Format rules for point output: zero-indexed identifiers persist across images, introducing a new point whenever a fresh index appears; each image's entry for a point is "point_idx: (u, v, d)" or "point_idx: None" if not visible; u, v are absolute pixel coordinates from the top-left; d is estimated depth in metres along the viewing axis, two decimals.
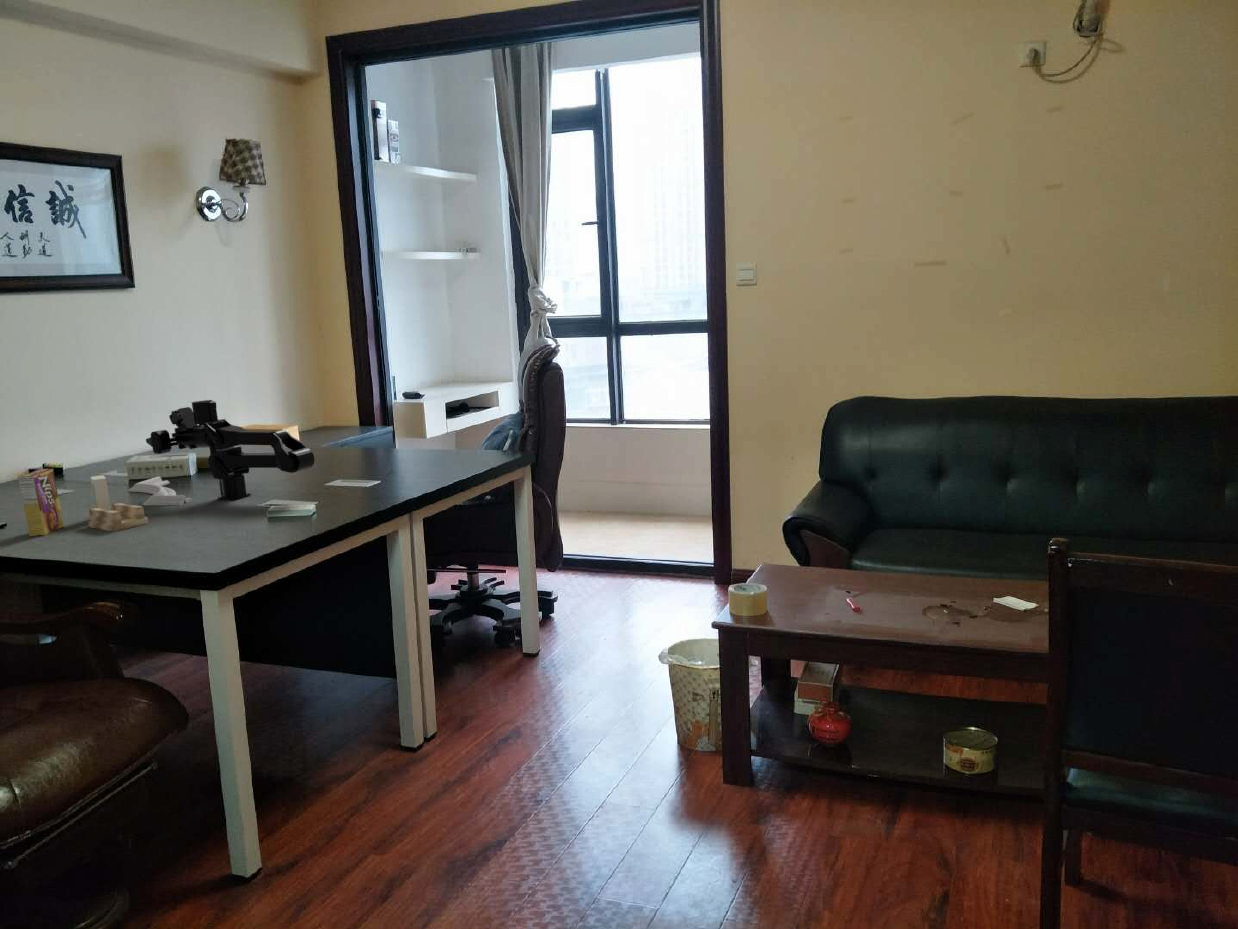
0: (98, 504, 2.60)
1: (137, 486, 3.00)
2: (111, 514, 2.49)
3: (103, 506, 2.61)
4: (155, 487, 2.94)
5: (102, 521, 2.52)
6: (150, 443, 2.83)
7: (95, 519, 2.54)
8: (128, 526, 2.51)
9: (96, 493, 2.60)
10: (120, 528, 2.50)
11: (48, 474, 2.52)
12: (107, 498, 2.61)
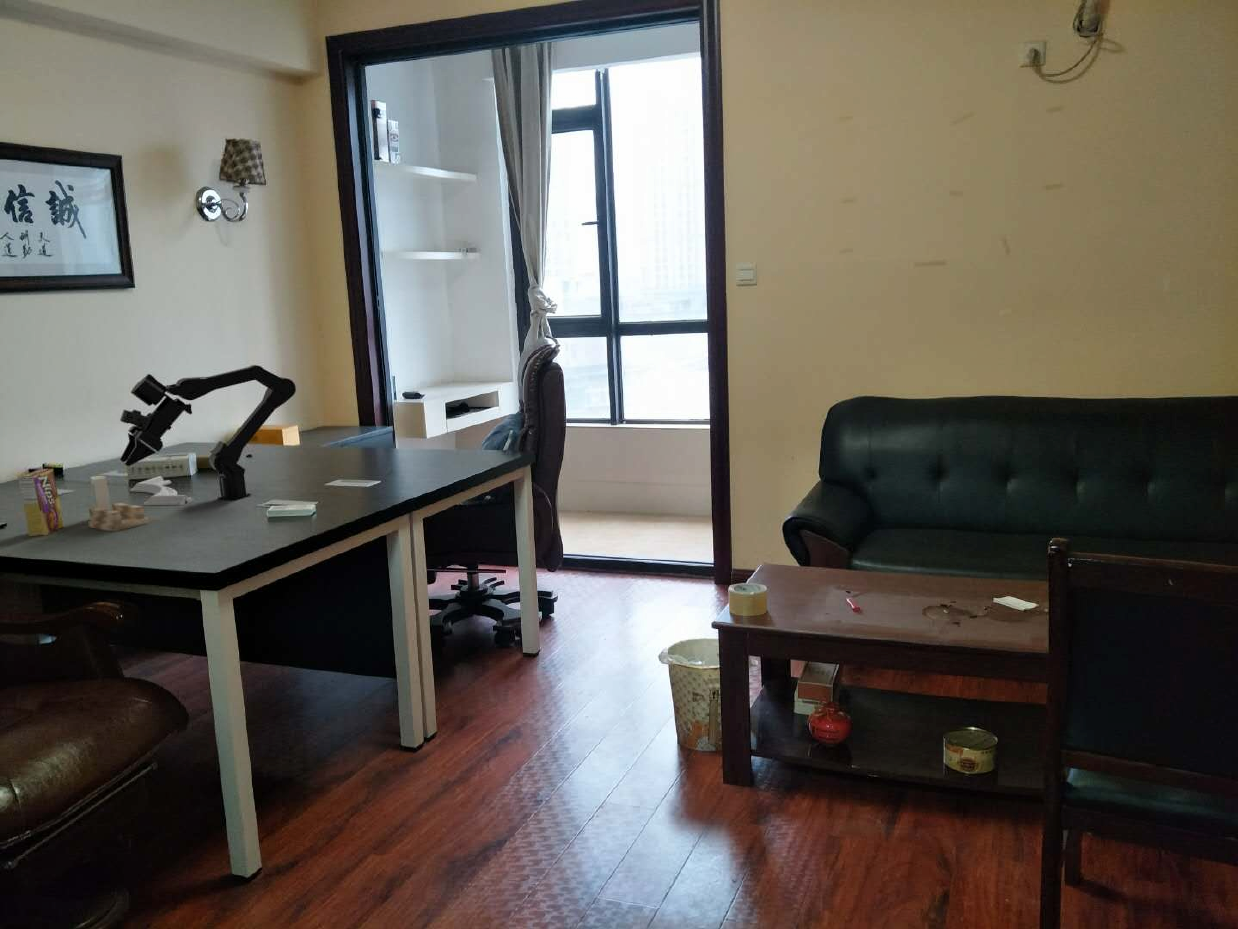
0: (98, 504, 2.60)
1: (139, 486, 3.00)
2: (111, 514, 2.49)
3: (103, 506, 2.61)
4: (156, 487, 2.95)
5: (102, 521, 2.52)
6: (135, 460, 2.62)
7: (95, 519, 2.54)
8: (128, 526, 2.51)
9: (96, 493, 2.60)
10: (120, 528, 2.50)
11: (48, 474, 2.52)
12: (107, 498, 2.61)
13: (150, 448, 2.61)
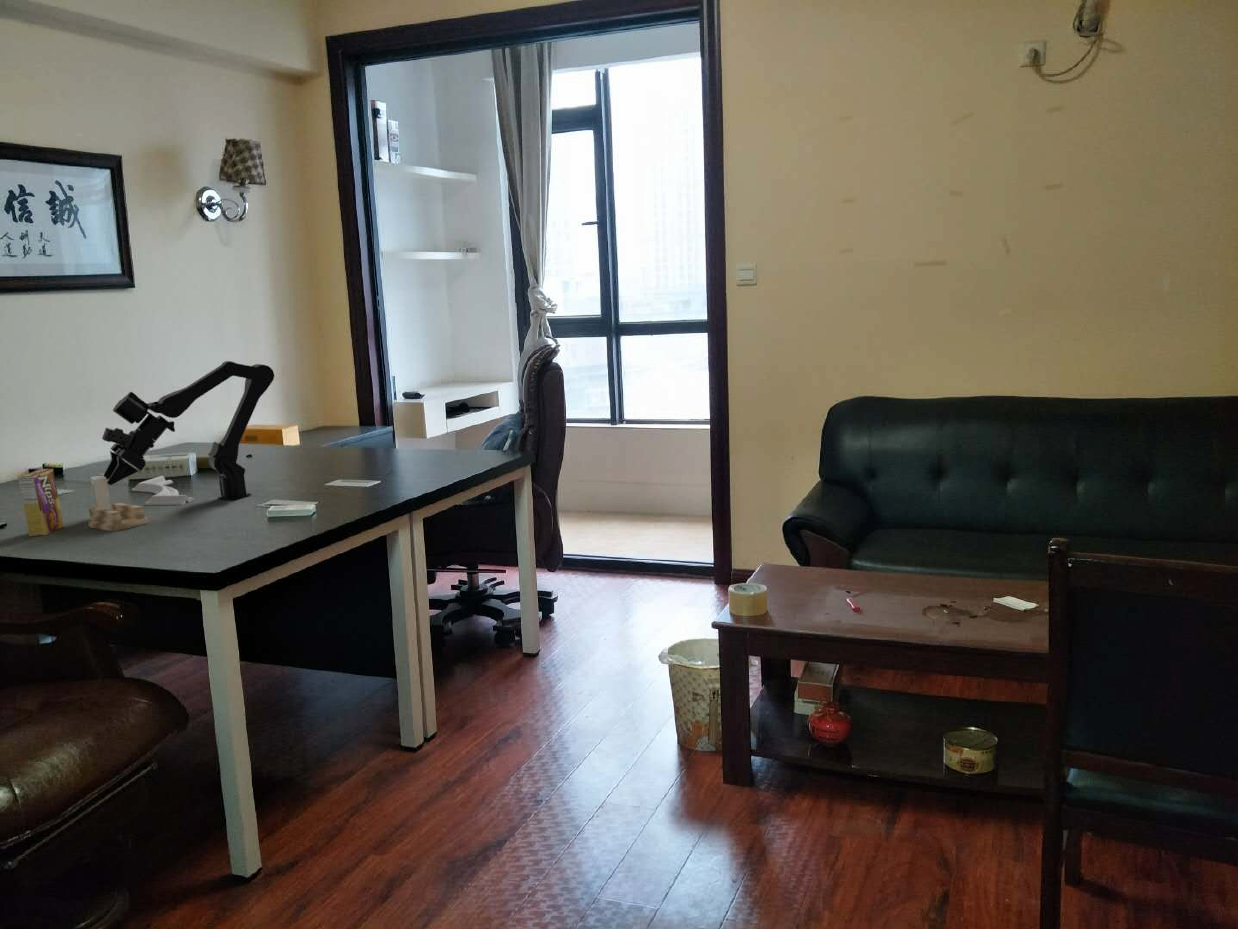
0: (98, 504, 2.60)
1: (140, 485, 3.00)
2: (111, 514, 2.49)
3: (103, 506, 2.61)
4: (158, 487, 2.95)
5: (102, 521, 2.52)
6: (117, 478, 2.60)
7: (95, 519, 2.54)
8: (128, 526, 2.51)
9: (96, 493, 2.60)
10: (120, 528, 2.50)
11: (48, 474, 2.52)
12: (107, 498, 2.61)
13: (132, 467, 2.59)
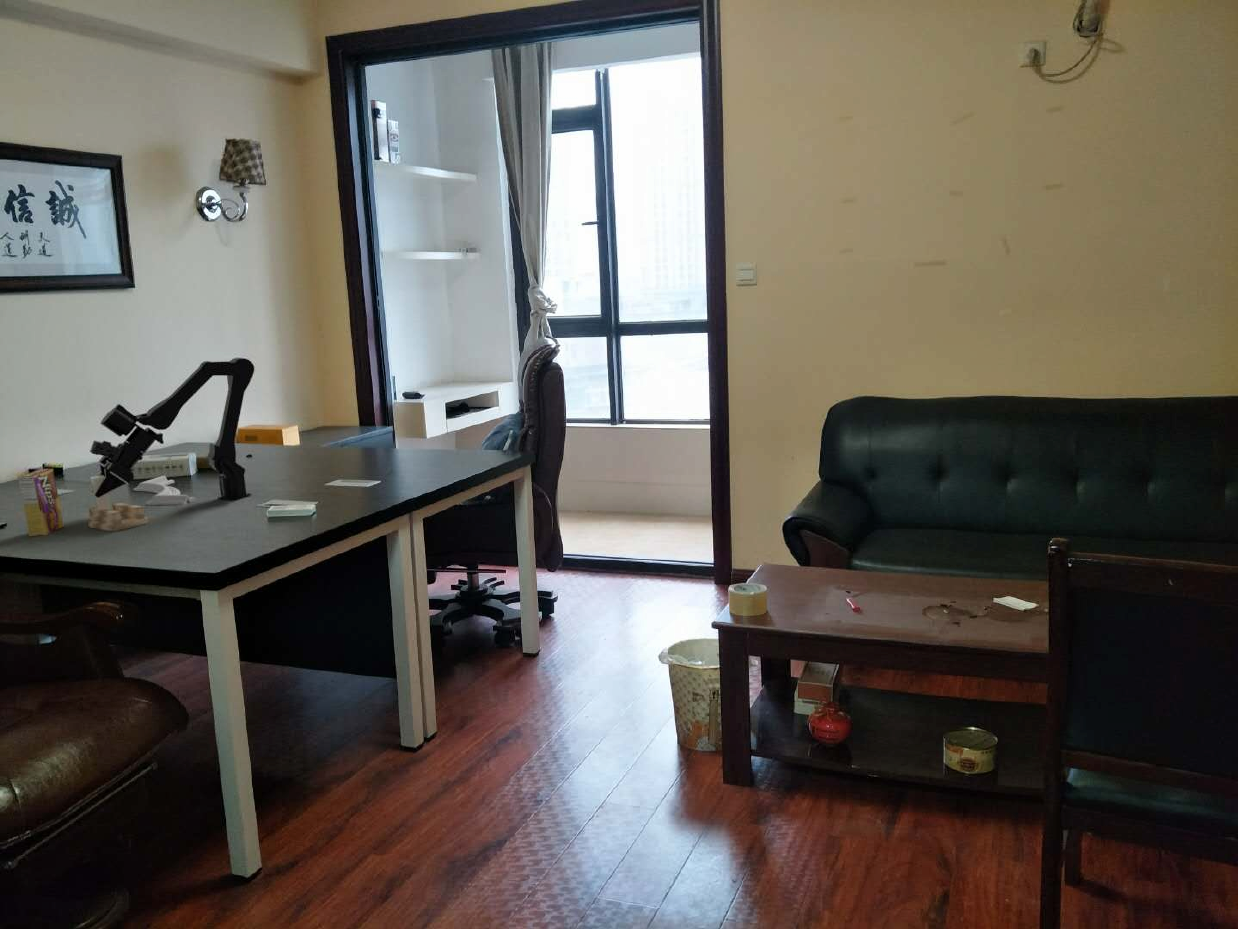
0: (98, 504, 2.60)
1: (142, 485, 3.00)
2: (111, 514, 2.49)
3: (103, 506, 2.61)
4: (160, 486, 2.95)
5: (102, 521, 2.52)
6: (105, 491, 2.60)
7: (95, 519, 2.54)
8: (128, 526, 2.51)
9: None
10: (120, 528, 2.50)
11: (48, 474, 2.52)
12: (107, 498, 2.61)
13: (120, 479, 2.59)
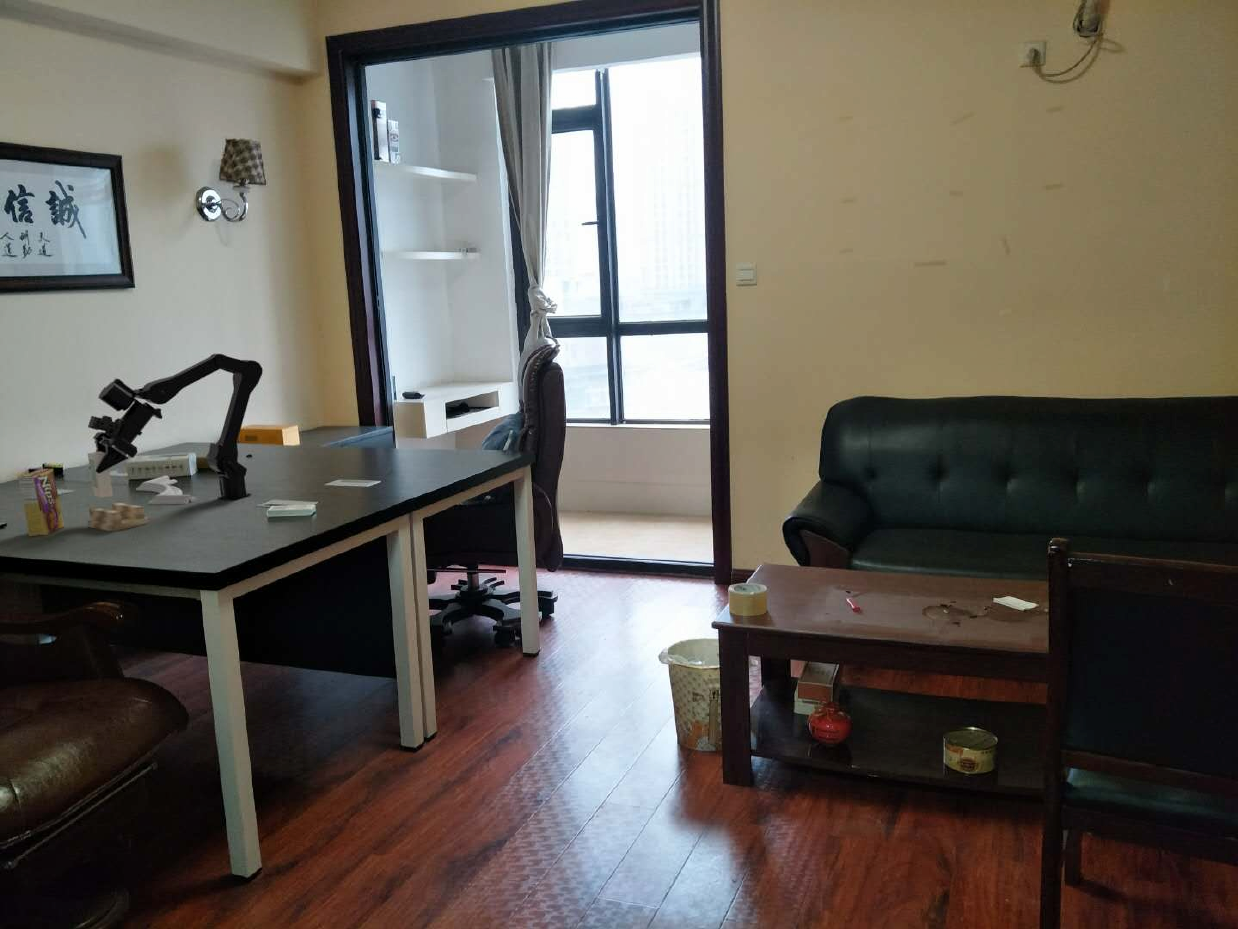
0: (99, 480, 2.56)
1: (144, 485, 3.01)
2: (111, 514, 2.49)
3: (104, 482, 2.56)
4: (162, 486, 2.95)
5: (102, 521, 2.52)
6: (106, 466, 2.55)
7: (95, 519, 2.54)
8: (128, 526, 2.51)
9: None
10: (120, 528, 2.50)
11: (48, 474, 2.52)
12: (108, 474, 2.57)
13: (122, 454, 2.55)
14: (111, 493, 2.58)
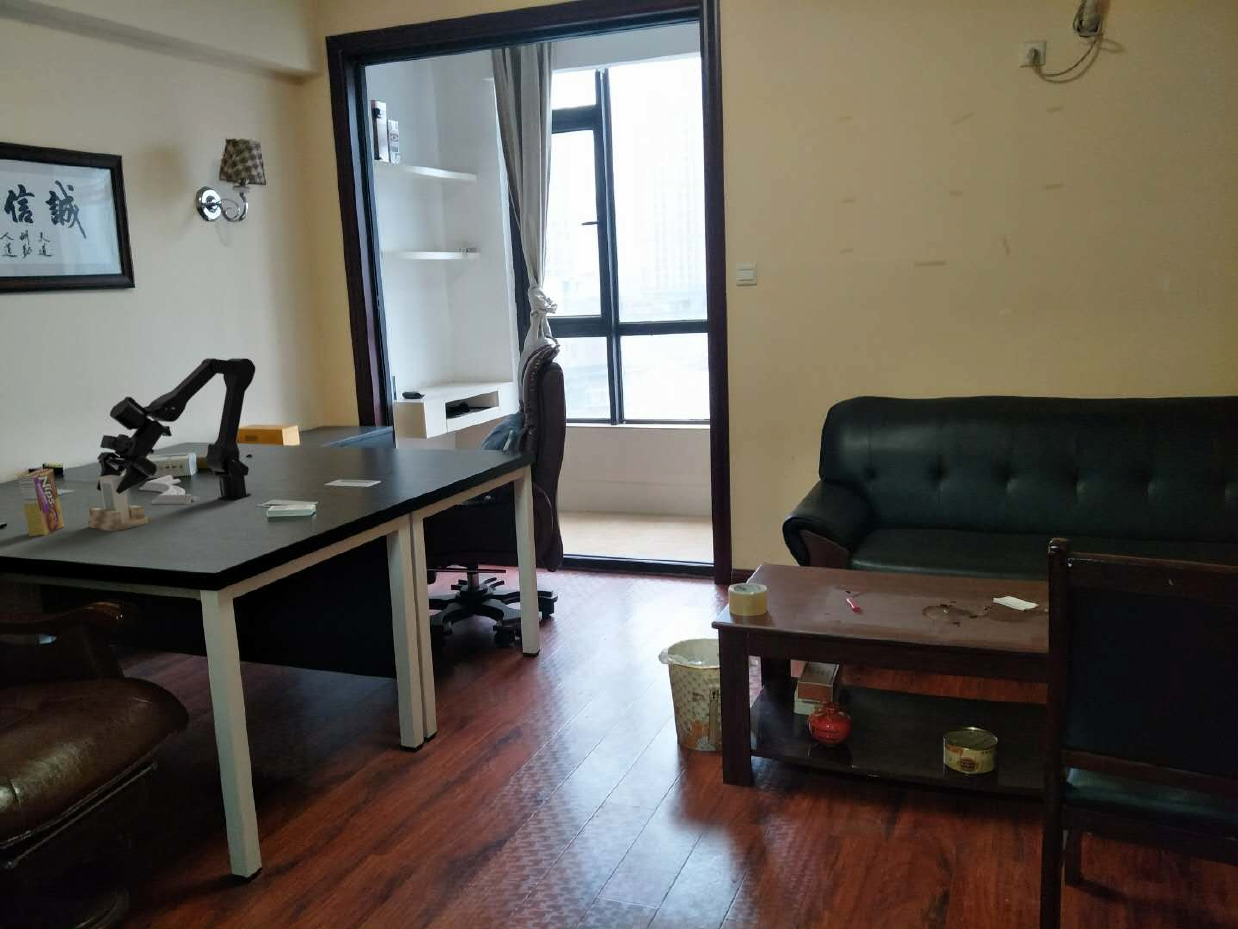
0: (117, 504, 2.51)
1: (148, 485, 3.01)
2: (111, 514, 2.49)
3: (121, 505, 2.52)
4: (165, 486, 2.96)
5: (102, 521, 2.52)
6: (127, 486, 2.51)
7: (95, 519, 2.54)
8: (128, 526, 2.51)
9: (114, 492, 2.51)
10: (120, 528, 2.50)
11: (48, 474, 2.52)
12: (125, 497, 2.53)
13: (144, 473, 2.52)
14: (128, 516, 2.54)
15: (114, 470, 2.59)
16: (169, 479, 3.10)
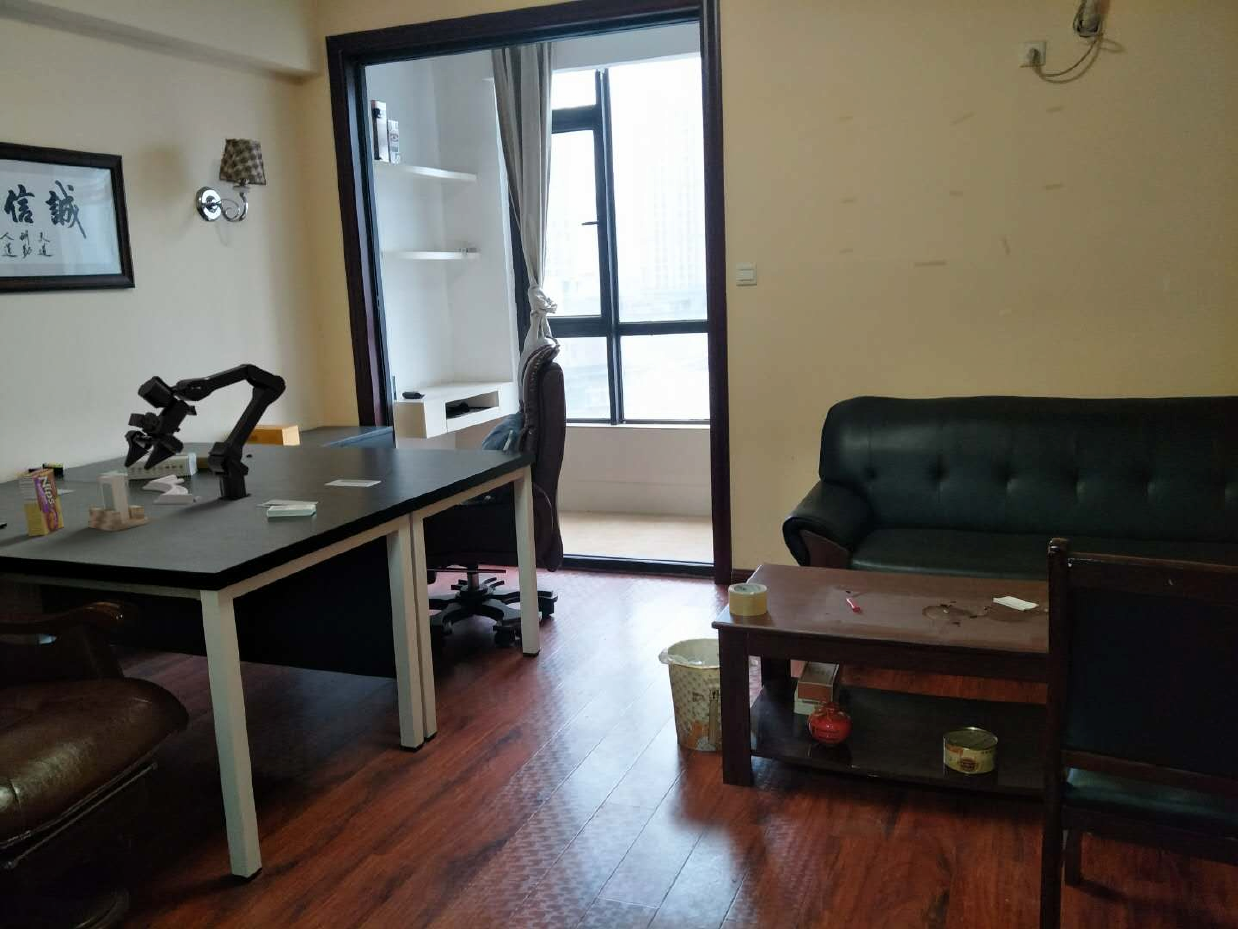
0: (117, 504, 2.51)
1: (151, 484, 3.02)
2: (111, 514, 2.49)
3: (121, 505, 2.52)
4: (168, 485, 2.96)
5: (102, 521, 2.52)
6: (154, 463, 2.56)
7: (95, 519, 2.54)
8: (128, 526, 2.51)
9: (114, 492, 2.51)
10: (120, 528, 2.50)
11: (48, 474, 2.52)
12: (125, 497, 2.53)
13: (171, 450, 2.57)
14: (128, 516, 2.54)
15: (141, 448, 2.64)
16: (172, 479, 3.11)
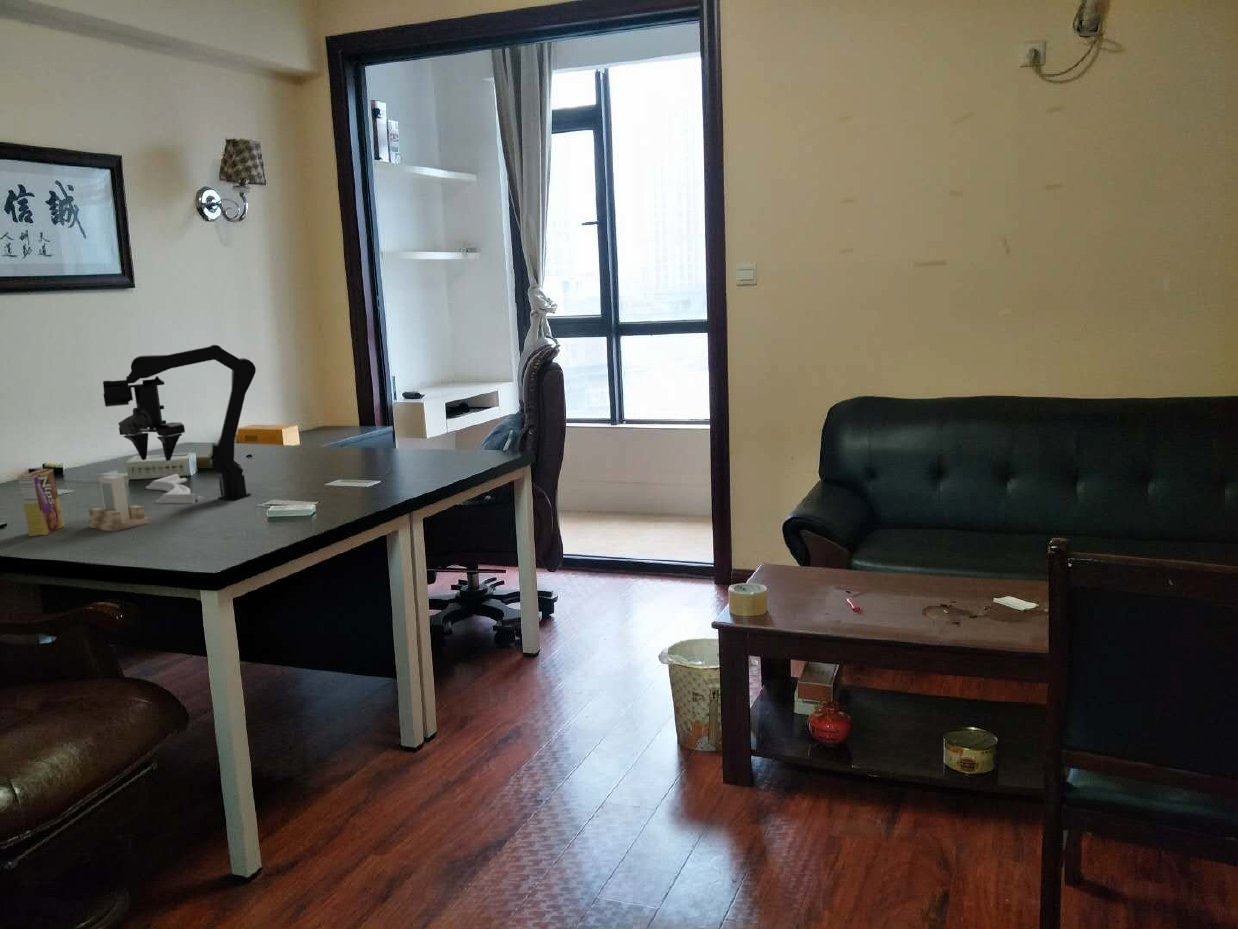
0: (117, 504, 2.51)
1: (154, 483, 3.02)
2: (111, 514, 2.49)
3: (121, 505, 2.52)
4: (171, 485, 2.97)
5: (102, 521, 2.52)
6: (171, 451, 2.70)
7: (95, 519, 2.54)
8: (128, 526, 2.51)
9: (114, 492, 2.51)
10: (120, 528, 2.50)
11: (48, 474, 2.52)
12: (125, 497, 2.53)
13: (177, 434, 2.69)
14: (128, 516, 2.54)
15: (141, 435, 2.74)
16: (176, 478, 3.11)
